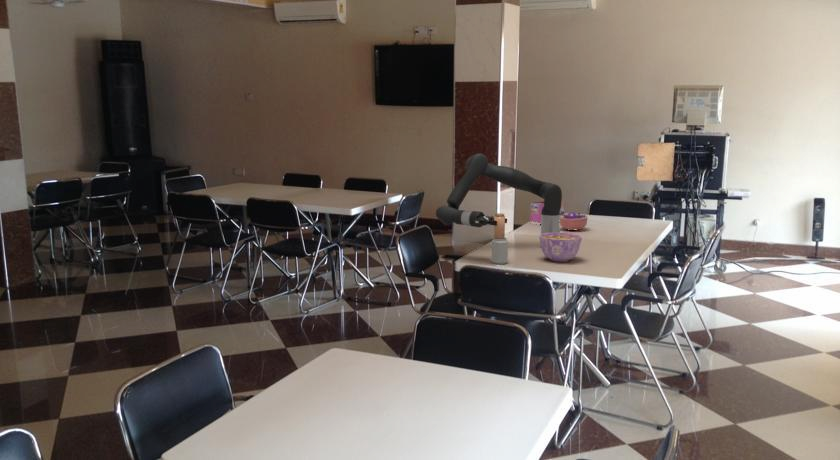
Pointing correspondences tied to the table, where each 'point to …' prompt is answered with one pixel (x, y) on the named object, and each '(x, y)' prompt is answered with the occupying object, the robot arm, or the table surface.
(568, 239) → the bowl of food
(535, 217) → the gum box
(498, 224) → the jar
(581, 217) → the cell model
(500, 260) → the can
